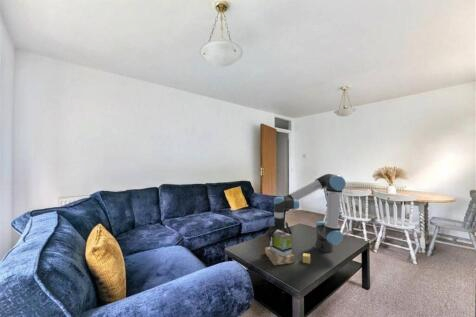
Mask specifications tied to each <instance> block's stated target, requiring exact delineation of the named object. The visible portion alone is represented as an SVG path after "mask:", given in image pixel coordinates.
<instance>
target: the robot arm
mask: <svg viewBox="0 0 476 317" xmlns="http://www.w3.org/2000/svg"><path fill="white" fill-rule="evenodd" d="M344 188H346V179H345V178H344V177H343V176H342V175H339V174H333V173H332V174H331V173H326V174H324V175H321V176H319V177H318V178H315V179H314V181H313V182H310V183H309V184H307V185H305V186H303V187H301V188H299V189H297V190H296V191H294V192H291V193H288V195H283V196H276V197H274V198H273V216H274V217H273V218H274V219H273V223H272V222H271V223H270V224H269V225H270V226H269V228H268V231H267V232H266V236H267V237H268V241H270V242H269V246H270V245H271V246H272V237H271V236H272V235H273V234H274V232H275V231H276V230H282V231H283V232H286V233H289V234H291V235H292V234H293V233H292V231H291V229H290V227H289V223H288V222H285V210H298V209H299V208H300V201H299V200H301V199H304V198H305V197H307V196H308V195H311V194H312V193H314V192H317V191H318V190H323V189H326V190H325V191H326V192H327V204H326V205H327V206H326V207H327V208H326V209H327V210H326V220H321V221H320V220H319V221H316V223H315V241H314V243H313V247H314V249H315V250H316V251H319V252H322V253H331V252H333V251H334V246H335V245H337V246H338V245H339V244H341V243H342V241H343V239H344V235H343V233H342V232H341V226H340V225H339V218H340V200H341V198H340V197H341V194H342V193H343V190H344ZM284 226H285V227H284ZM333 245H334V246H333Z"/></svg>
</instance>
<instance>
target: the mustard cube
mask: <svg viewBox="0 0 476 317" xmlns="http://www.w3.org/2000/svg"><path fill="white" fill-rule="evenodd" d="M302 263H303V264H304V263H305V264H309V265H310V264H311V254H310V253H305V252H303V253H302Z"/></svg>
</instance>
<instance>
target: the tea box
mask: <svg viewBox="0 0 476 317" xmlns="http://www.w3.org/2000/svg"><path fill="white" fill-rule="evenodd" d="M271 237H272V246H271V245H270V244H269V247H270V250H271V251H273V252H275V253H277V254H279V255H281V256H283V257H284V256H287V255H289V254H293V253H292V252H293V249H292V248H293V247H292V246H293V245H292V243H293V240H292V239H293V238H292V237H293V236H292V234H289V232H288V233H286V232H285V231H284V230H282V229H277V230H276V231H275V232H274V234H273V235H272V236H271ZM268 241H269V240H268ZM269 243H270V241H269Z"/></svg>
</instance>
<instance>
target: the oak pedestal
mask: <svg viewBox="0 0 476 317" xmlns="http://www.w3.org/2000/svg"><path fill="white" fill-rule="evenodd" d="M264 251H265V252H264V254H265V255H266V256H267V258H268V257H269V258H268V259H269V260H270V261H271V263H272V264H273V265H274V266H278V265H279V266H280V265H287V264H294V263H295V261H296V260H295V258H296V257H295V256H296V255H294V254H293V253H292V254H289V255H287V256H284V257H283V256H281V255H279V254H277V253H275V252H273V251H271V250H270V246H266V247H265V250H264Z"/></svg>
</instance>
